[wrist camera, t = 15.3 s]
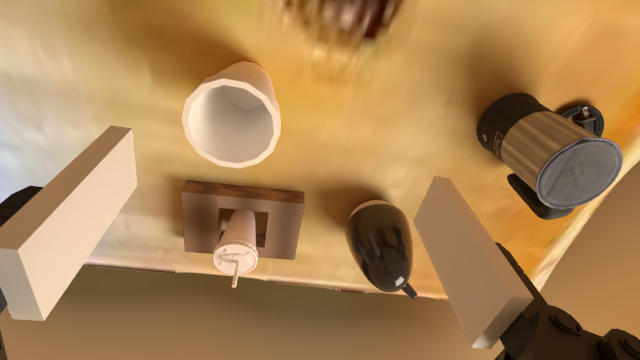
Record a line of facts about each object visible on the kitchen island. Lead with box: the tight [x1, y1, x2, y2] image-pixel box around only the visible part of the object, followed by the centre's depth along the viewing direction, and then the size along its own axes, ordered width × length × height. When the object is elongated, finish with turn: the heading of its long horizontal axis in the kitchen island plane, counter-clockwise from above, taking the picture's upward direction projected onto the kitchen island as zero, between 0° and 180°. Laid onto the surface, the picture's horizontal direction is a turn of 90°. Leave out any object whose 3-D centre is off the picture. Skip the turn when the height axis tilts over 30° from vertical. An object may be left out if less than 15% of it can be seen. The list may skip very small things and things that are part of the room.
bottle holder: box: [181, 181, 304, 260], centre depth 54 cm, size 18×12×3 cm, turn 81°
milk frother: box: [477, 93, 623, 220], centre depth 43 cm, size 14×16×15 cm
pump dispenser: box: [345, 200, 417, 299], centre depth 51 cm, size 10×10×15 cm
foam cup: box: [181, 61, 281, 168], centre depth 38 cm, size 10×9×13 cm
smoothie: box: [212, 209, 258, 288], centre depth 50 cm, size 6×6×14 cm
